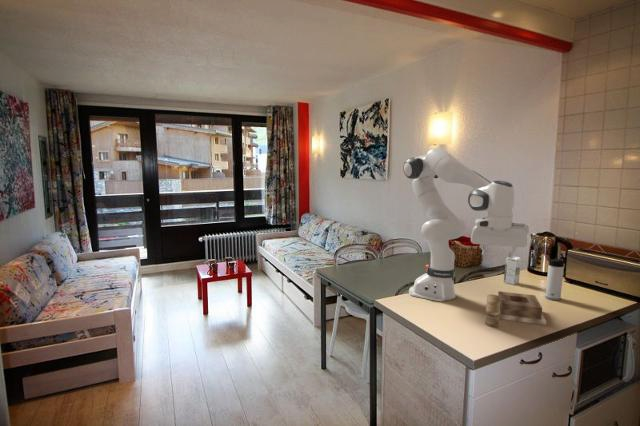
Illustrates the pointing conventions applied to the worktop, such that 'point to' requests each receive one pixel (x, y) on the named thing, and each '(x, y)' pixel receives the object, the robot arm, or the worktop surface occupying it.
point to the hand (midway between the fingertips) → (496, 256)
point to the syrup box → (512, 270)
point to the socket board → (520, 308)
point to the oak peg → (492, 310)
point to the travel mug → (554, 279)
